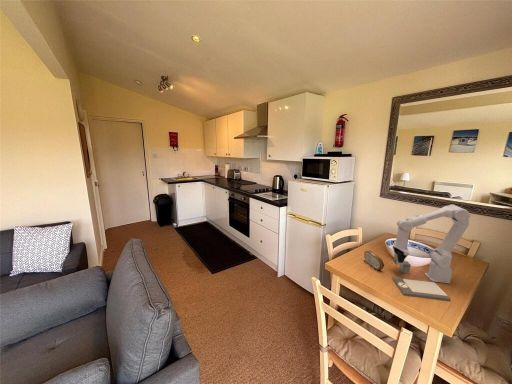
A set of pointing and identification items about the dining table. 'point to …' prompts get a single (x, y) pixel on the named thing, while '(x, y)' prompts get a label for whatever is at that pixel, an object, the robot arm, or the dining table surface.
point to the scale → (420, 289)
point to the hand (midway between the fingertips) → (398, 260)
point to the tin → (374, 260)
